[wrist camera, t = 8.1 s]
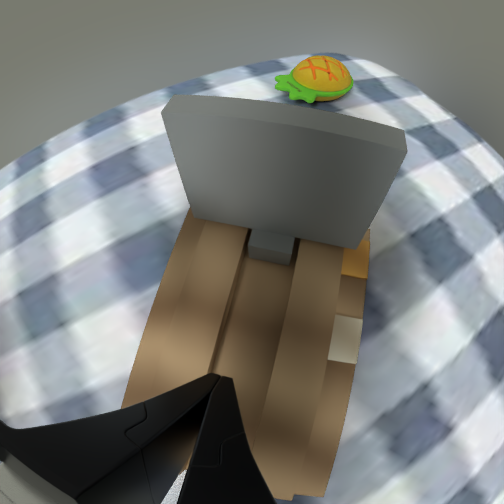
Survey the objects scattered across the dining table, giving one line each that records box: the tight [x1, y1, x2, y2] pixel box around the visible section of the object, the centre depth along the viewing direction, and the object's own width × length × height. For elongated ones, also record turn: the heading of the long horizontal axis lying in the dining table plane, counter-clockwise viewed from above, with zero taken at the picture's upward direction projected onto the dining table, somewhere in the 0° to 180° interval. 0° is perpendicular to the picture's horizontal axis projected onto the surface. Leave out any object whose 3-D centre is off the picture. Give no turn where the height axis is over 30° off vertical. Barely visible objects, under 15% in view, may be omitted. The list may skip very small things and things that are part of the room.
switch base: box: [121, 207, 370, 501], centre depth 19 cm, size 20×14×3 cm
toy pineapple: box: [275, 56, 353, 103], centre depth 30 cm, size 7×10×5 cm
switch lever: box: [161, 95, 407, 266], centre depth 17 cm, size 4×11×11 cm, turn 76°
